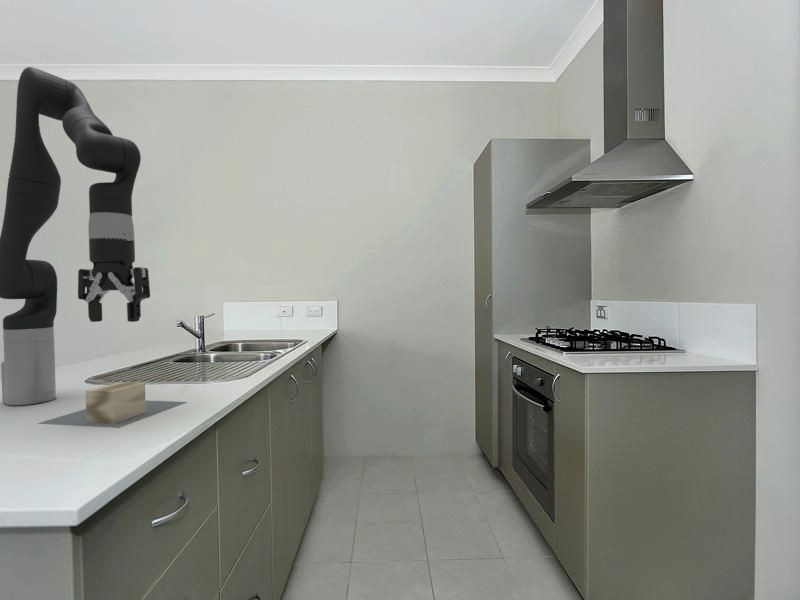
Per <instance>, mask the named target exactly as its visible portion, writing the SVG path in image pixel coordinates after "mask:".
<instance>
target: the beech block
mask: <svg viewBox="0 0 800 600" xmlns="http://www.w3.org/2000/svg"><path fill="white" fill-rule="evenodd" d="M145 400H146V383H145V382H122V381H118V382H116V383H111V384H107V385H104V386H99V387H95V388H91V389H87V390H85V409H86V418H87V422H90V423H110V424H114V423H117V422H120V421H123V420H125V419H128V418H131V417H134V416H137V415H139V414H142V413H145V412H146V404H145Z"/></svg>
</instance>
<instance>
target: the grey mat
mask: <svg viewBox="0 0 800 600" xmlns="http://www.w3.org/2000/svg"><path fill="white" fill-rule="evenodd" d="M186 403H188V401H173V400H172V401H168V400H167V401H166V400H147V399H145V404H146V412H145V413H142V414H139V415H137V416H134V417H131V418H128V419H125V420H123V421H120V422H117V423H114V424H110V423H90V422H87V418H86V408H84V409H81V410H78V411H75V412H71V413H68V414H64V415H61V416H58V417H53V418H51V419H46V420H44V421H41V422H38V423H37V424H41V425H56V426H57V425H58V426H60V425H61V426H74V427H91V428H92V427H95V428H112V429H113V428H116V429H120V428H122V427H125V426H127V425H130V424H133V423H135V422H139V421H141V420H144V419H146V418H149V417H152V416H155V415H157V414H159V413H162V412H166V411H168V410H170V409H173V408H176V407H179V406H181V405H184V404H186Z"/></svg>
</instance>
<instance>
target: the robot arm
mask: <svg viewBox="0 0 800 600" xmlns="http://www.w3.org/2000/svg"><path fill="white" fill-rule="evenodd" d="M15 109H16V112H15V131H14V141H13V142H14V143H13V149H12V150H13V151H12V157H11V163H10V167H9V173H8V179H7V180H8V181H7V187H6V197H5V208H4V213H3V214H4V215H3V221H2V226H1V232H0V299H4V300H24V305H23V306H22V307H21V308H19V310H17V311H16V312H13V313H10V314H8V315H6V316H4V317H3V319H2V334H3V335H2V340H3V361H2V362H1V364H0V369H1V371H0V373H1V396H2V397H1V400H2V401H1V403H2V404H5V405H6V406H26V405H27V406H28V405H34V404H41V403H45V402H48V401H49V402H50V401H53V400H55V399H56V398H57V391H56V390H57V388H56V387H57V385H56V382H57V381H56V357H55V356H56V355H55V329H54V328H55V327H54V326H55V325H54V324H55V322H54V321H55V317H56V315H57V311H58V310H57V309H58V308H57V307H58V305H57V304H58V277H57V273H56V270H55V268H54V266H53V265H52V264H51V263H50V262H49V261H46V260H39V259H27V255H28V250H29V247H30V244H31V242H32V240H33V238H34V236H35V235H36V234H37V232H39V230H40V229H41V228H43V226H44V225H45V224H46V223H47V222H48V221H49V220H50V218H52V216H53V215H54V214H55V212H56V210H57V209H58V205H59V200H60V195H61V194H60V192H61V186H62V179H61V175H60V171H59V169H58V167H57V165H56V163H55V162H54V160H53V158H52V156H51V155H50V153H49V151H48V149H47V146H46V145H45V143H44V140H43V137H42V133H41V128H40V127H41V126H40V115H41V116H44V117H48V118H50V119H54V120H57V121H61V122H62V123H61V124H62V128H63V131H64V132H65V135H66V136H67V137H68V138H69V140H71V142H72V143H73V144H74V145H75V153H76V158H77V160H78V162H79V163H80V164H81V165H83V166H84V167H86V168H88V169H90V170H95V171H101V172H106V173H112V174H115V179H114V181H112V182H108V181H107V182H106V181H105V182H95V183H93V184H91V185H90V186H89V188H88V200H89V201H88V202H89V203H88V204H89V205H88V206H89V218H88V219H89V220H88V251H89V253H88V254H89V257H88V258H89V261H90V263H91V264H93V266H92V267H93V268H92V269H91V268H89V269H86V268H80V269H78V273H77V274H78V275H77V298H78V300H83V301H85V302H86V303H87V306H88V307H87V308H88V309H87V311H88V312H87V313H88V315H87V316H88V319H89V322H91V323H96V322H97V323H98V322H102V321H103V302H101V301H102V300H103V298H104V296H106V294H108V293H109V292H110V291H119V293H121V294H122V295H123V296H124V297H125V298H126V300H127V303H126V311H127V312H126V314H127V315H126V317H127V322H129V323H133V322H139V321H140V318H141V316H142V314H141V312H142V311H141V302H142V301H143V300H146V299H150V298H151V289H150V279H149V278H150V276H149V269H148V267H143V266H142V267H139V266H138V267H134V266H133V263H135V261H136V251H135V250H136V248H135V227H134V221H133V203H132V202H133V201H132V197H133V191H134V185H135V182H136V179H137V175H138V171H139V169H140V166H141V158H142V157H141V151H140V150H139V147H138V146H137V144H136V143H135V142H134V141H132V140H131V139H128V138H122V137H120V136H115V135H113V133H112V131H111V130H110V128H109V127H108V126H107V125H106V124H105V123H104V122H103V121H102V120H101V119H100V118H99V117H98V116H96V115H97V114H95V113H94V111H93V109H92V108H91V106H90V104H89V102H88V100H87V98H86V96H85V94H84V93H83V92H82V90H81V89H80V88H79V87H78V86H77V85H76V84H75V83H73V82H71V81H70V80H68V79H65V78H62V77H61V76H60V77H59V76H58V75H54V74H52V73H50V72H47V71H45V70H41V69H39V68H37V67H33V66H27V67H25V68H24V69H23V70H22V72H21V73H20V75H19V78H18V84H17V91H16V108H15ZM133 279H134V280H133Z"/></svg>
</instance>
